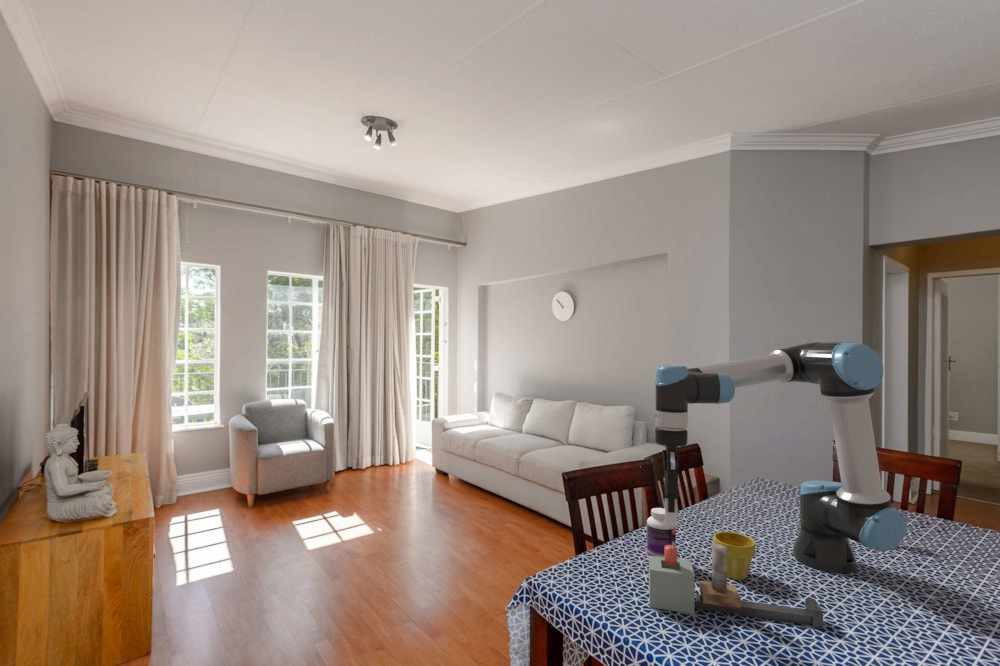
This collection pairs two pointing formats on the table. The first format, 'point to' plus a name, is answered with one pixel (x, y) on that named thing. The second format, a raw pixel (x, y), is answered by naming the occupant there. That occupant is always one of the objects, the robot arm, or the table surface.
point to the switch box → (671, 585)
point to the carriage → (719, 582)
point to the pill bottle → (659, 533)
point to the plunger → (670, 555)
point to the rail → (772, 611)
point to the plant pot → (736, 553)
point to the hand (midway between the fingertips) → (670, 523)
